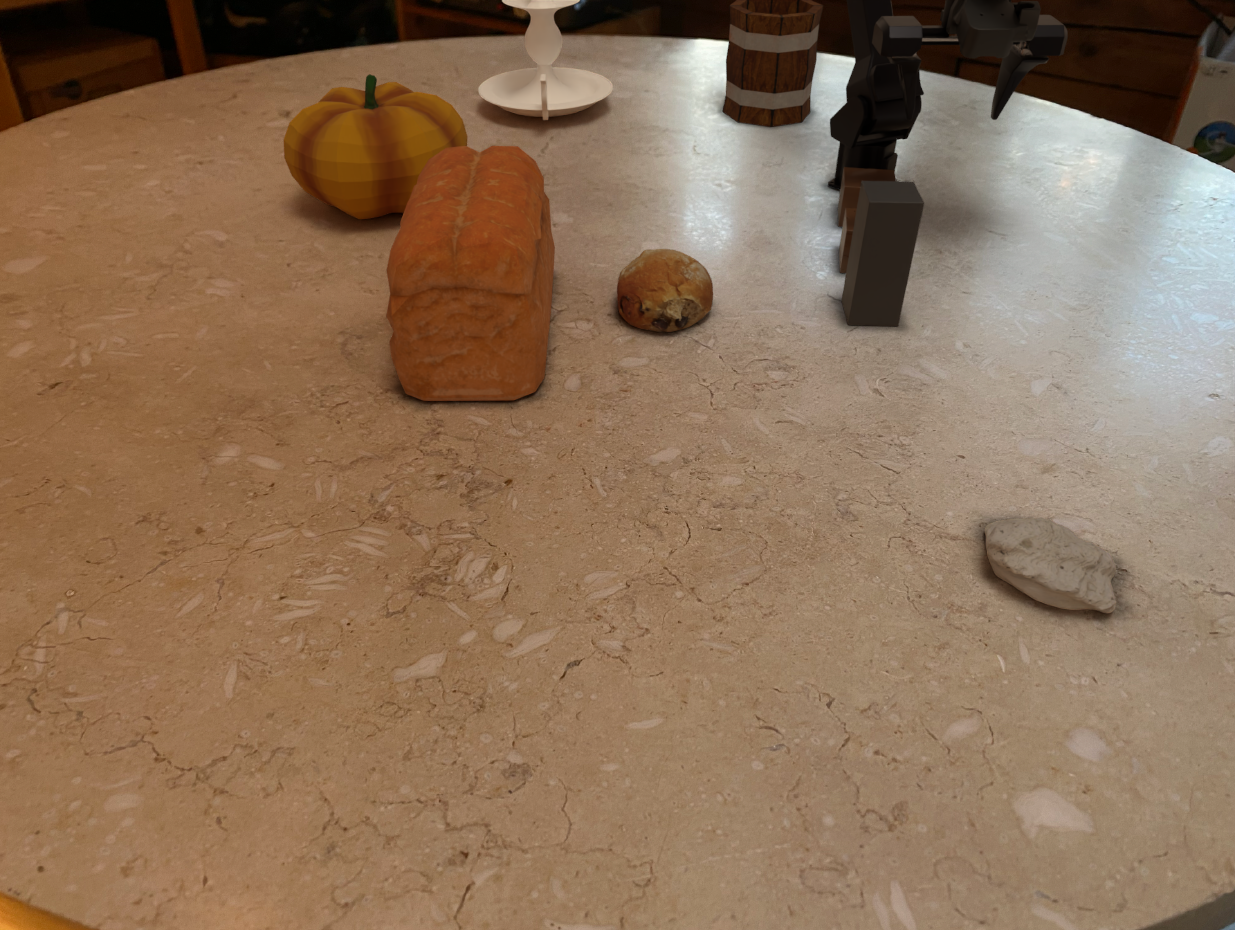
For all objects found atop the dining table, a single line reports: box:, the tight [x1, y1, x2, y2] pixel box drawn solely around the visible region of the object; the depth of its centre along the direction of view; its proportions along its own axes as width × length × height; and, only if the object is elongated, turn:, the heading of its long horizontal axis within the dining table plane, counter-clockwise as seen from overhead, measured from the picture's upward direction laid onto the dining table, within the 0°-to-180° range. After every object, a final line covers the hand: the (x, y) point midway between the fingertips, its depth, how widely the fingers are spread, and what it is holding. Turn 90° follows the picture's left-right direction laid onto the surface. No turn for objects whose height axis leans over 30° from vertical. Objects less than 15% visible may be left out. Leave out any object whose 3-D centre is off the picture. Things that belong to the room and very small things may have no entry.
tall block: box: [840, 180, 925, 327], centre depth 92 cm, size 5×5×13 cm
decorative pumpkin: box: [283, 74, 468, 220], centre depth 114 cm, size 20×22×15 cm
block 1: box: [838, 208, 857, 274], centre depth 103 cm, size 6×6×5 cm
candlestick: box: [477, 0, 614, 121], centre depth 135 cm, size 21×25×28 cm
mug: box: [722, 0, 824, 128], centre depth 142 cm, size 20×14×15 cm
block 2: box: [837, 167, 897, 228], centre depth 112 cm, size 6×6×5 cm
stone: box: [983, 517, 1118, 614], centre depth 66 cm, size 10×5×10 cm
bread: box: [385, 145, 556, 402], centre depth 89 cm, size 14×27×15 cm, turn 1°
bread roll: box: [616, 248, 714, 333], centre depth 95 cm, size 10×10×8 cm
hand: (951, 119), depth 104 cm, fingers open, 9 cm apart
